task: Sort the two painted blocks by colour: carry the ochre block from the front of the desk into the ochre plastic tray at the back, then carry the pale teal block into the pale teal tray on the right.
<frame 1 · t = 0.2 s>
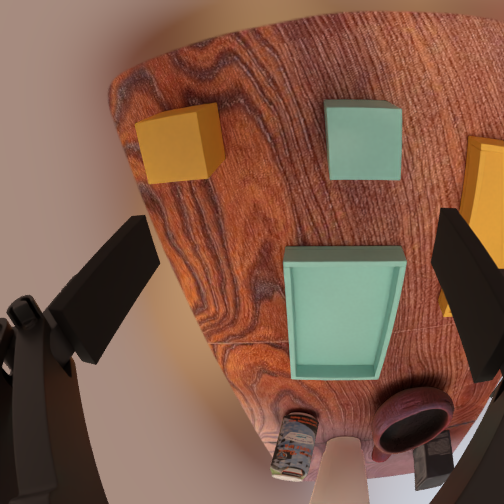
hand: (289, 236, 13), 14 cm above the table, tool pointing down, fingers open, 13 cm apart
cup: (343, 441, 53), on the table
small box: (430, 440, 50), on the table
beverage can: (299, 415, 48), on the table
teal block: (356, 129, 23), on the table
bowl: (408, 400, 42), on the table
ochre block: (193, 134, 26), on the table
ochre tray: (499, 229, 24), on the table
teal tray: (340, 315, 34), on the table
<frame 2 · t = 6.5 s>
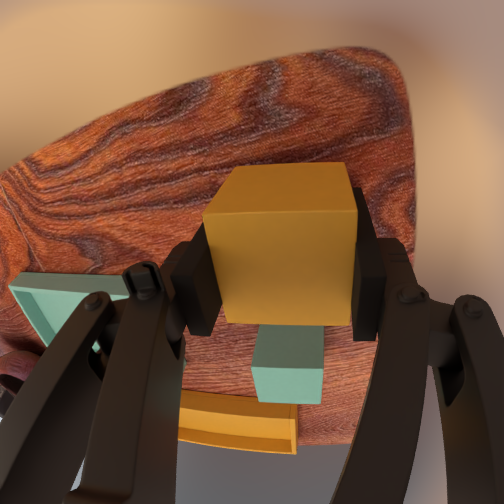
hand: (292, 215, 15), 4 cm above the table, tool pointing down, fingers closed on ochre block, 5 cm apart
small box: (14, 376, 51), on the table
teal block: (293, 338, 26), on the table
bowl: (41, 361, 41), on the table
ochre block: (293, 212, 15), point 4 cm above the table, touching gripper
ochre tray: (225, 415, 36), on the table
teal tray: (95, 317, 30), on the table
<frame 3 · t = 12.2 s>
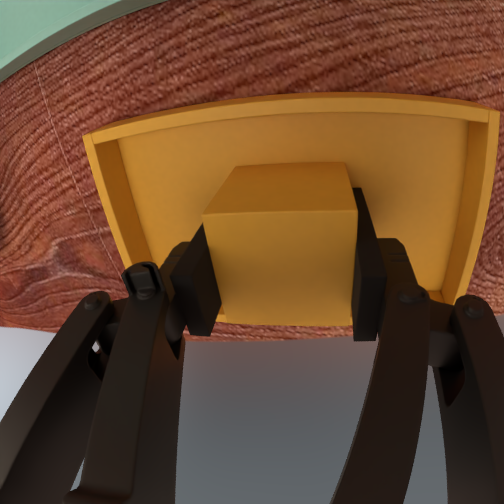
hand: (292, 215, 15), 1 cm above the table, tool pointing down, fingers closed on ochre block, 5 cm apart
ochre block: (293, 212, 15), point 1 cm above the table, touching gripper
ochre tray: (294, 206, 16), on the table
when the fingers open (2 cm above the table, at t = 18.8 s): ochre block drops 1 cm, resting on ochre tray.
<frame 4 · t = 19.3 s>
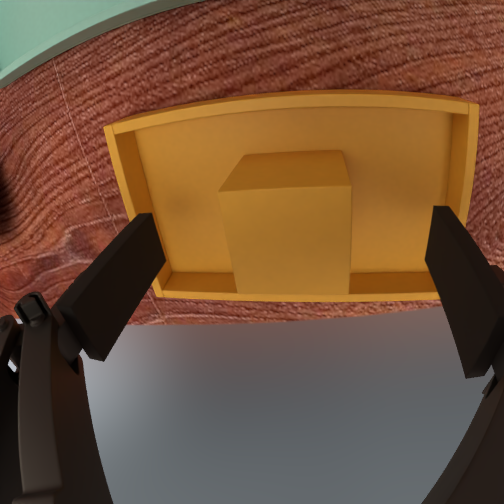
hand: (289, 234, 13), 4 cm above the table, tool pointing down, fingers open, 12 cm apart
ochre block: (295, 196, 17), point 1 cm above the table, touching ochre tray
ochre tray: (295, 192, 17), on the table
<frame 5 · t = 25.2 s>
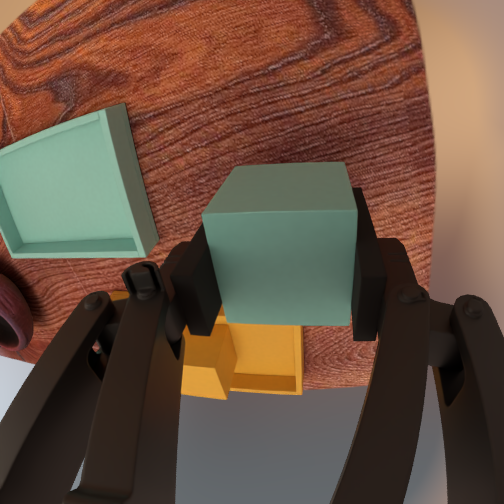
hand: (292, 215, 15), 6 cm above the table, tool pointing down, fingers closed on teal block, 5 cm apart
teal block: (293, 212, 15), point 6 cm above the table, touching gripper
bowl: (8, 290, 35), on the table
ochre block: (208, 341, 30), point 1 cm above the table, touching ochre tray
ochre tray: (209, 337, 30), on the table
teal tray: (59, 189, 24), on the table
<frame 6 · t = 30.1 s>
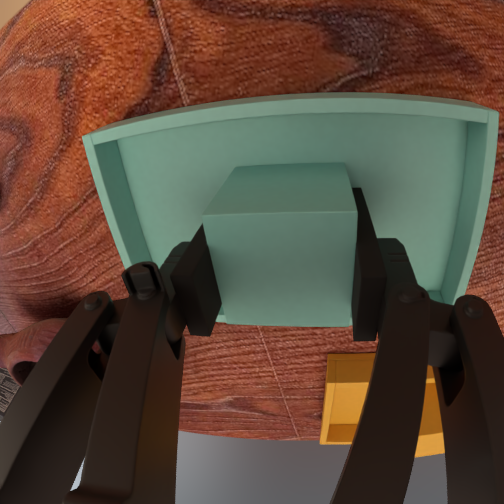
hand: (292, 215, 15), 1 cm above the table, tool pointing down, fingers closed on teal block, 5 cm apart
small box: (32, 369, 37), on the table
teal block: (293, 213, 15), point 1 cm above the table, touching gripper
bowl: (90, 341, 27), on the table
ochre block: (427, 394, 22), point 1 cm above the table, touching ochre tray
ochre tray: (426, 389, 22), on the table
teal tray: (293, 207, 16), on the table
when the fingers open (2 cm above the table, at t = 36.6 s): teal block drops 1 cm, resting on teal tray.
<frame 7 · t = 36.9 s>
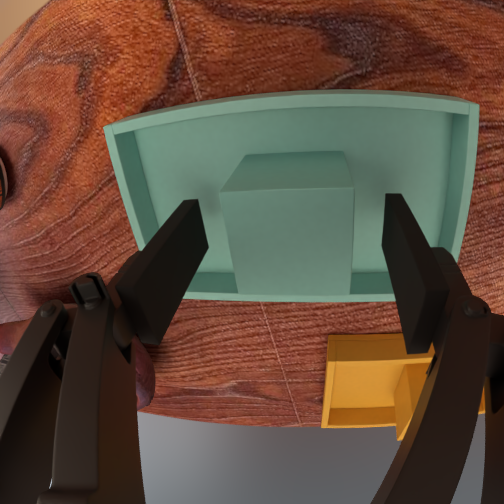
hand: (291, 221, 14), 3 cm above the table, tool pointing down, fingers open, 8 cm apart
teal block: (297, 197, 17), point 1 cm above the table, touching teal tray
bowl: (98, 328, 29), on the table
ochre block: (424, 377, 23), point 1 cm above the table, touching ochre tray
ochre tray: (423, 372, 24), on the table
teal tray: (295, 193, 17), on the table
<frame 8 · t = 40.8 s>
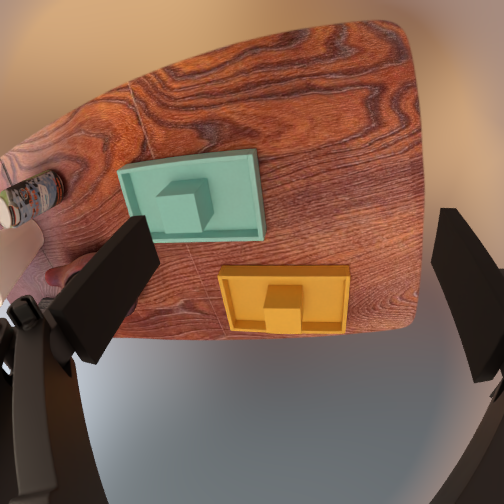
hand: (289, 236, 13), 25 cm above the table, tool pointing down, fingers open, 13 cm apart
cup: (32, 232, 51), on the table
beverage can: (54, 182, 44), on the table
teal block: (192, 197, 41), point 1 cm above the table, touching teal tray
bowl: (108, 271, 53), on the table
ochre block: (286, 297, 47), point 1 cm above the table, touching ochre tray
ochre tray: (286, 295, 48), on the table
teal tray: (193, 195, 41), on the table
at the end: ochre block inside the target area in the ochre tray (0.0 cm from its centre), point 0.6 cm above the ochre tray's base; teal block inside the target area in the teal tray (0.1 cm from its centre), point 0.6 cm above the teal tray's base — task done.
